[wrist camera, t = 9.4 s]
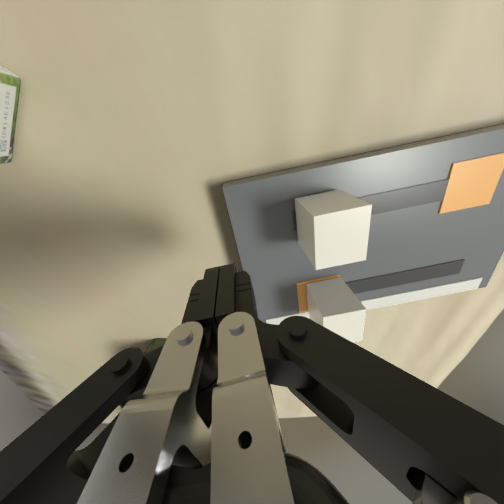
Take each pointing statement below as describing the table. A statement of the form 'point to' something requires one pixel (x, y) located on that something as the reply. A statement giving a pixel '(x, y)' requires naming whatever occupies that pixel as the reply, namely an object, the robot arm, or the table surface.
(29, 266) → the table surface
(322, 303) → the outer switch
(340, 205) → the inner switch
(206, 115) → the table surface
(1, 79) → the syrup box
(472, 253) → the switch panel
